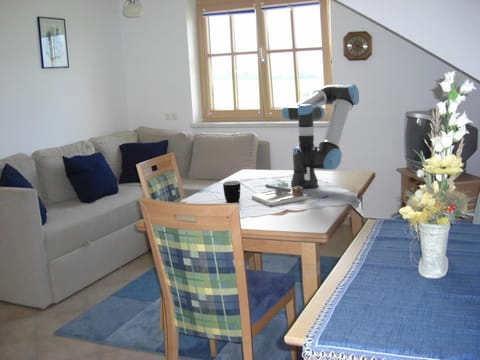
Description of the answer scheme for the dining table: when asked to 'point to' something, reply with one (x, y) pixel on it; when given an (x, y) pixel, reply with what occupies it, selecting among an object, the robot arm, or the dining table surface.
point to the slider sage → (283, 184)
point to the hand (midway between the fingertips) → (307, 179)
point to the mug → (232, 191)
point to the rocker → (278, 188)
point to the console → (277, 197)
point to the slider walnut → (297, 191)
